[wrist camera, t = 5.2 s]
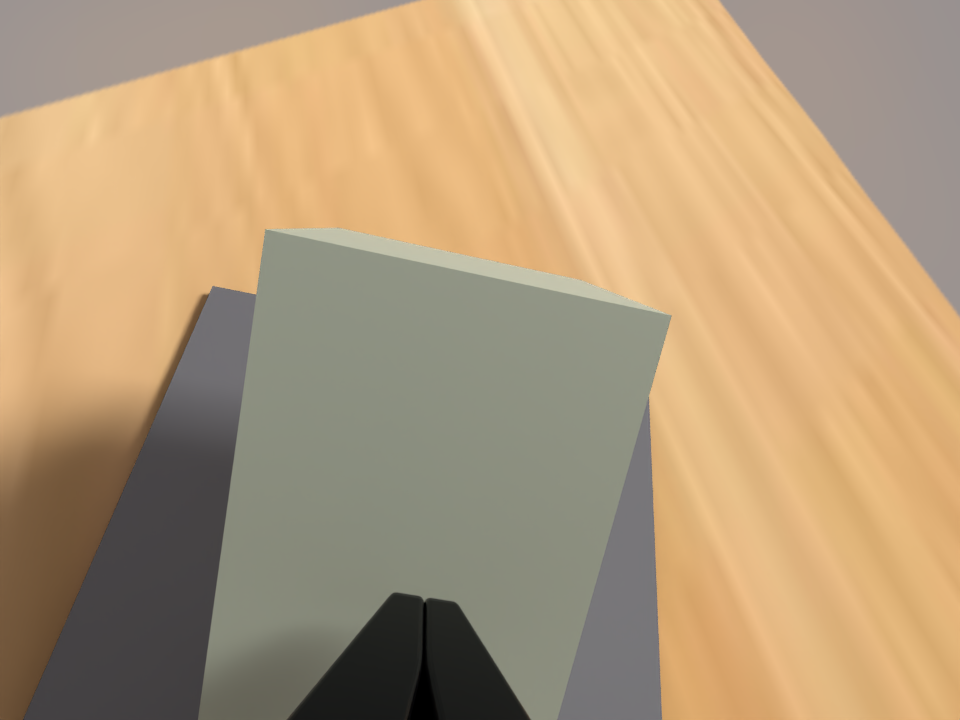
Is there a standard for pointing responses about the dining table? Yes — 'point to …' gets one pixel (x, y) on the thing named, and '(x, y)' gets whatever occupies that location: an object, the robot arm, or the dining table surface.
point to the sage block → (420, 460)
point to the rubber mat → (197, 549)
